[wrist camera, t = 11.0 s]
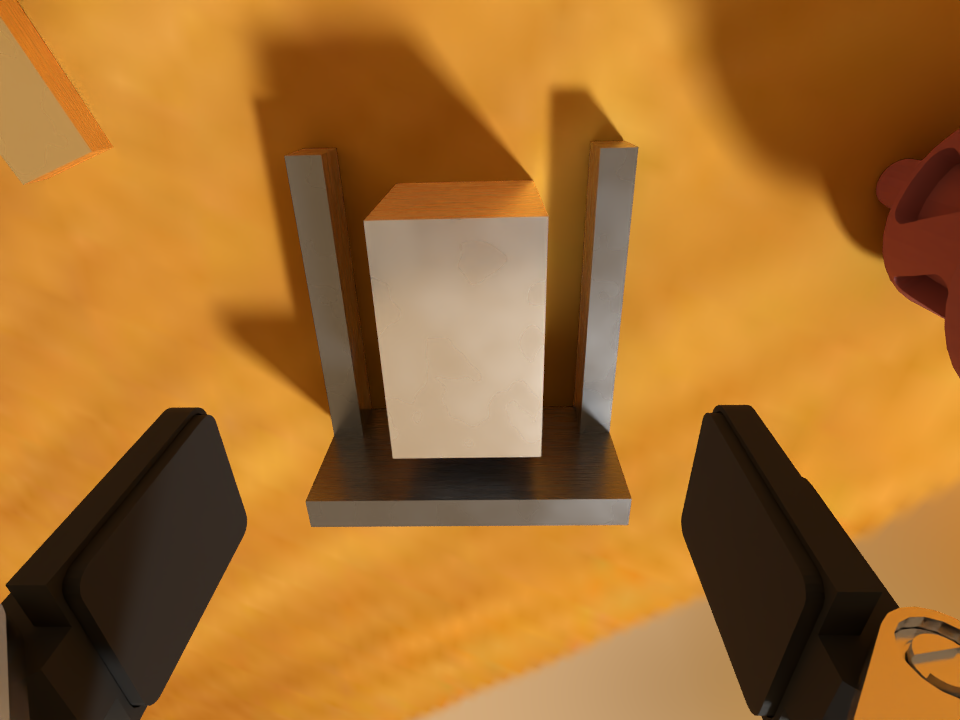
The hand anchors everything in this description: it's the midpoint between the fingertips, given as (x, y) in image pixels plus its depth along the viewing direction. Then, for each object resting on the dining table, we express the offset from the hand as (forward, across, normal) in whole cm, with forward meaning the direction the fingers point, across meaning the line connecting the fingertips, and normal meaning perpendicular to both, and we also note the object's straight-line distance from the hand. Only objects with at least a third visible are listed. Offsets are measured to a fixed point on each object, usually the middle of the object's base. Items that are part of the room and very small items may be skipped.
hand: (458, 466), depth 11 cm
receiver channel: (+12, 0, +1) cm, 12 cm away
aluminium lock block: (+12, 0, +1) cm, 12 cm away
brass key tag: (+12, +15, -7) cm, 21 cm away
